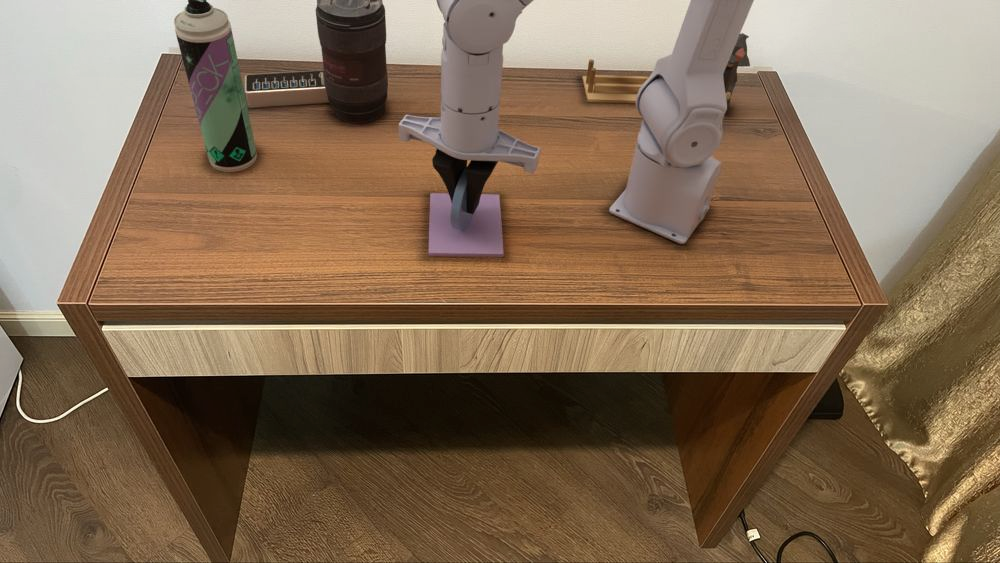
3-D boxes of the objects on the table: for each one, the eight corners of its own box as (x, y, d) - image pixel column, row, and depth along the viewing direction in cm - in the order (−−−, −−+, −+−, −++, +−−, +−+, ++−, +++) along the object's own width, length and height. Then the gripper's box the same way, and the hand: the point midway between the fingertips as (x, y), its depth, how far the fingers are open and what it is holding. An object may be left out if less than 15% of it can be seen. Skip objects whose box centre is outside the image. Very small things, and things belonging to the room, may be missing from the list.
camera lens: (323, 126, 96) (309, 14, 85) (331, 91, 101) (319, -18, 90) (387, 128, 96) (382, 17, 85) (391, 93, 102) (386, -15, 91)
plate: (471, 202, 86) (473, 152, 81) (479, 204, 86) (482, 154, 81) (449, 241, 82) (450, 190, 77) (458, 243, 81) (460, 193, 76)
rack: (657, 81, 108) (664, 56, 106) (666, 104, 104) (672, 78, 101) (582, 78, 108) (586, 53, 105) (587, 102, 103) (591, 76, 100)
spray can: (211, 145, 91) (170, -16, 77) (258, 143, 92) (226, -17, 78) (207, 173, 88) (163, 9, 73) (256, 170, 89) (222, 8, 74)
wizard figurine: (687, 98, 106) (710, 17, 97) (724, 96, 107) (750, 16, 98) (711, 133, 100) (737, 50, 91) (749, 130, 101) (779, 48, 92)
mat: (430, 196, 87) (430, 192, 87) (499, 197, 88) (499, 194, 88) (428, 256, 80) (428, 252, 80) (503, 257, 81) (503, 254, 81)
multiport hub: (247, 89, 100) (244, 74, 99) (331, 84, 102) (330, 69, 101) (247, 108, 97) (244, 92, 96) (334, 102, 99) (332, 87, 98)
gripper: (554, 93, 74) (539, 200, 84) (416, 61, 76) (418, 169, 86) (533, 132, 69) (521, 241, 79) (387, 96, 72) (393, 206, 81)
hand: (466, 206), depth 82 cm, fingers closed on plate
